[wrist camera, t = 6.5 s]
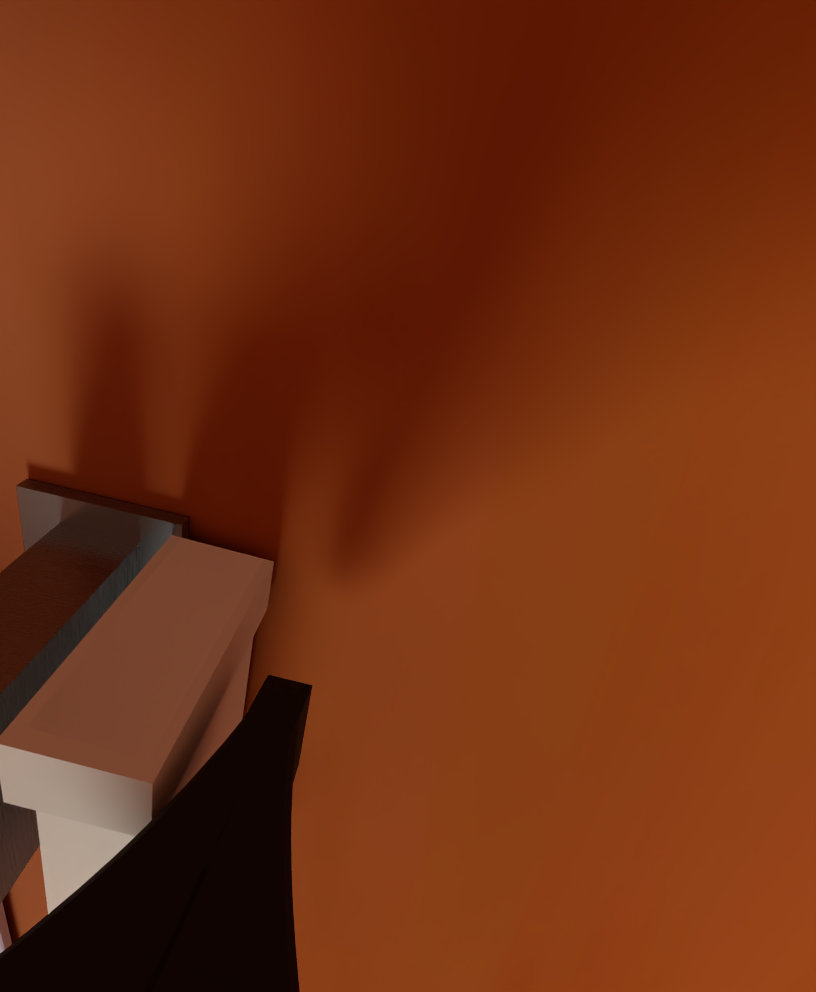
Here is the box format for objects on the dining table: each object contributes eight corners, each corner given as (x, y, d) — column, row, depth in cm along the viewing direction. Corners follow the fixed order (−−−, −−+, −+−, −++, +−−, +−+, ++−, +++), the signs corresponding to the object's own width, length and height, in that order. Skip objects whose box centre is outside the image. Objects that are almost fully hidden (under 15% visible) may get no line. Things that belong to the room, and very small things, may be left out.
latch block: (49, 672, 15) (-142, 893, 10) (27, 478, 12) (-241, 663, 8) (183, 704, 15) (49, 940, 10) (188, 516, 12) (13, 724, 8)
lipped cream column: (231, 858, 17) (142, 1093, 13) (158, 840, 17) (46, 1068, 13) (274, 561, 12) (152, 783, 8) (171, 534, 12) (-6, 742, 8)
